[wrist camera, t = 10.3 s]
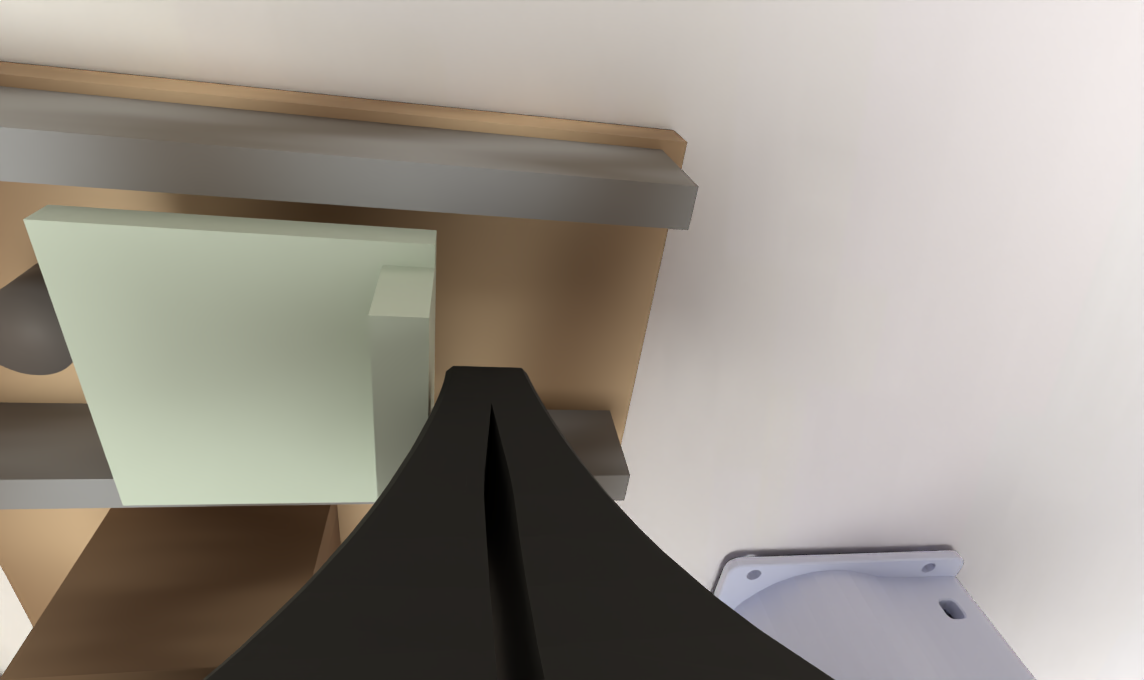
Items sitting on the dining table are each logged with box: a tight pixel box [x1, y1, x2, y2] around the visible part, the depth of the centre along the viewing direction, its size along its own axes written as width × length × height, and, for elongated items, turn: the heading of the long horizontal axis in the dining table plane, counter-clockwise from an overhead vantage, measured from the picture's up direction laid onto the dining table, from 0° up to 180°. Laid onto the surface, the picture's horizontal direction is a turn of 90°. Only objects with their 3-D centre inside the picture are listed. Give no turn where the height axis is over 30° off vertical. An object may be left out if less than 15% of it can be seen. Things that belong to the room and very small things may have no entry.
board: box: [0, 61, 698, 627], centre depth 14 cm, size 16×15×3 cm
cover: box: [23, 205, 437, 506], centre depth 10 cm, size 6×6×2 cm
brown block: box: [0, 505, 341, 680], centre depth 14 cm, size 5×5×6 cm
